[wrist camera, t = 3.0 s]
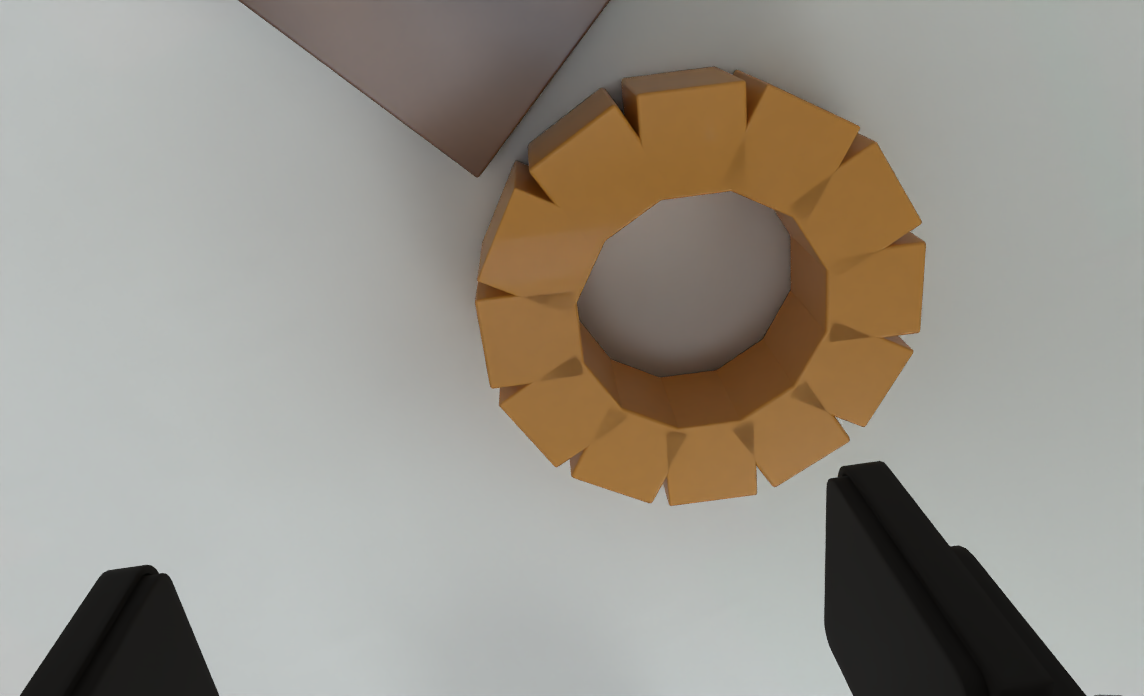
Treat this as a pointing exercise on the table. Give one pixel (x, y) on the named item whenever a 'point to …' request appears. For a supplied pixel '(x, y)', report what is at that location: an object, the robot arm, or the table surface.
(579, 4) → the post
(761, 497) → the table surface
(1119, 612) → the table surface
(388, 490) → the table surface
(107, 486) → the table surface
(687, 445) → the ring
